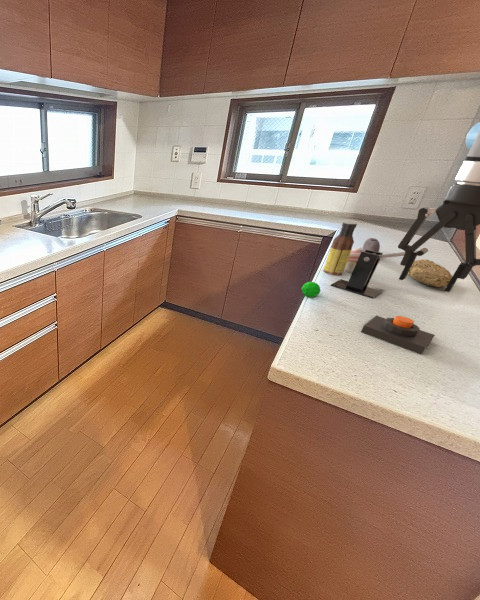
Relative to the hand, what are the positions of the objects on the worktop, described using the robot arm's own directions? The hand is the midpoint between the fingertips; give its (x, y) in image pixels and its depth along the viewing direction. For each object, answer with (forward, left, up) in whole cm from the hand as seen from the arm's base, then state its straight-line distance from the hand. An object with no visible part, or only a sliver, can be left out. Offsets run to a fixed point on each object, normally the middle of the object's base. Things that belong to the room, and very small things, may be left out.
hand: (423, 284), depth 78 cm
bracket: (+17, -27, -15) cm, 35 cm away
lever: (+11, -27, -2) cm, 29 cm away
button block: (0, 0, -15) cm, 15 cm away
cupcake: (+25, -47, -15) cm, 55 cm away
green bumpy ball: (+24, -8, -15) cm, 30 cm away
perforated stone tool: (+28, -80, -15) cm, 86 cm away
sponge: (+5, -61, -15) cm, 64 cm away
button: (0, 0, -12) cm, 12 cm away
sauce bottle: (+28, -38, -15) cm, 50 cm away
